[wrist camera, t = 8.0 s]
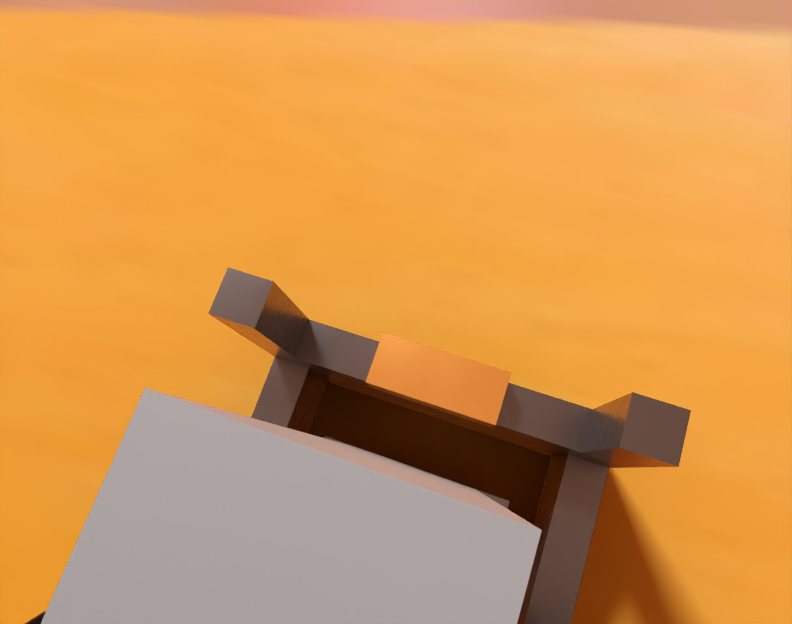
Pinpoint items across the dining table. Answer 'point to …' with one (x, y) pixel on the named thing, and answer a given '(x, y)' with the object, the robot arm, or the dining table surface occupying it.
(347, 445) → the grey block
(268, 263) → the dining table surface
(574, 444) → the rack
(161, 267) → the dining table surface
